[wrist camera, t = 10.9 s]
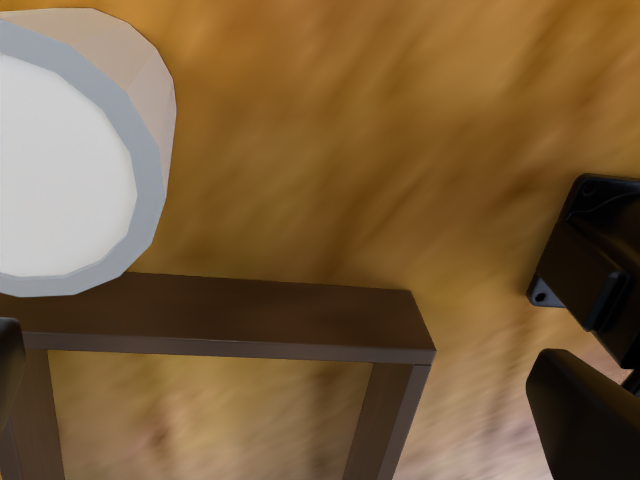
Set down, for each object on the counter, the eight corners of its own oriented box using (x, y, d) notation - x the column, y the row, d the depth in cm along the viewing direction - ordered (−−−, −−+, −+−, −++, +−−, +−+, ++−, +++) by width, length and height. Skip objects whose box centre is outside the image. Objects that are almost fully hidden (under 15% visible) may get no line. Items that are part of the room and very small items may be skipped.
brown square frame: (411, 289, 23) (437, 350, 20) (348, 500, 31) (360, 570, 28) (14, 263, 21) (-34, 329, 17) (53, 502, 28) (25, 581, 25)
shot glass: (185, 200, 20) (156, 314, 14) (-9, 172, 19) (-135, 285, 13) (205, 11, 17) (176, 54, 11) (-31, -40, 15) (-214, -23, 9)
